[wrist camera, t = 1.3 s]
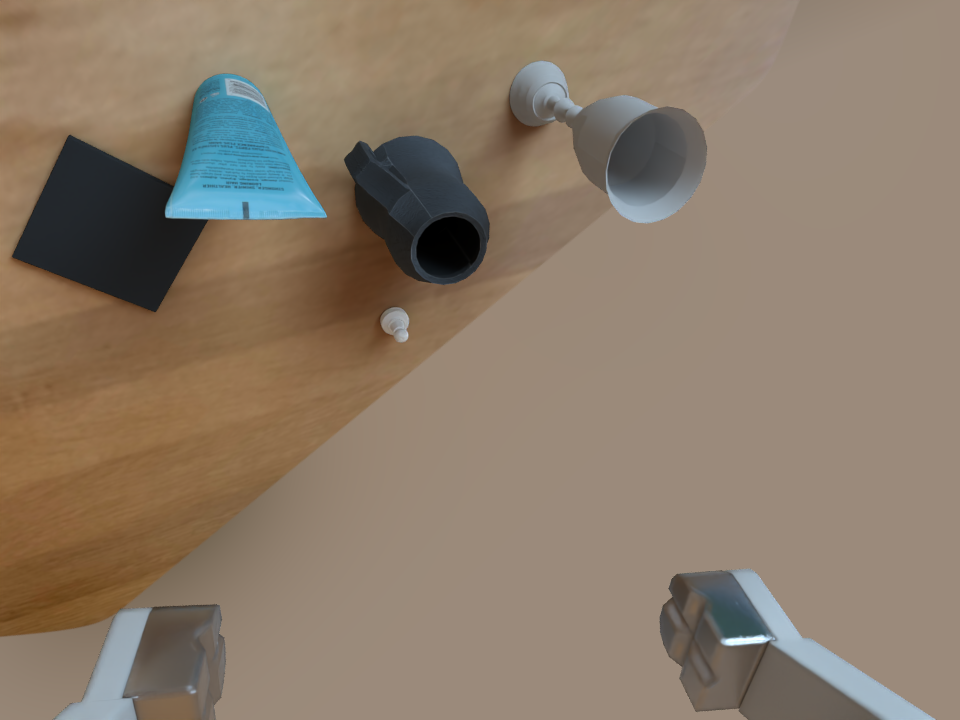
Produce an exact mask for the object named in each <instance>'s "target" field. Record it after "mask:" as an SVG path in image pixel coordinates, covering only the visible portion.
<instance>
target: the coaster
mask: <svg viewBox="0 0 960 720" xmlns="http://www.w3.org/2000/svg"><path fill="white" fill-rule="evenodd" d="M173 188H174V186H172V185H170V184H168V183H165V182H163V181H161V180H159V179H157V178H155V177H153V176H151V175H149V174H147V173H145V172H143V171H141V170H139V169H137V168H135V167H133V166H131V165H129V164H127V163H125V162H123V161H121V160H119V159H117V158H115V157H113V156H111V155H109V154H107V153H105V152H103V151H101V150H99V149H97V148H95V147H93V146H91V145H89V144H87V143H85V142H83V141H81V140H79V139H77V138H75V137H73V136H71V135H69V136H68V138H67V140H66V142H65V144H64V147H63V149H62V151H61V153H60V155H59V157H58V159H57V162H56V164H55V166H54V168H53V170H52V172H51V174H50V176H49V179H48V181H47V183H46V185H45V187H44V189H43V191H42V194H41V196H40V198H39V200H38V202H37V204H36V206H35V208H34V211H33V213H32V215H31V217H30V219H29V221H28V223H27V226H26V228H25V230H24V232H23V234H22V236H21V238H20V240H19V243H18V245H17V247H16V249H15V251H14V253H13V255H12V257H13V258H16V259H18V260H21V261H23V262H26V263H29V264H31V265H34V266H36V267H39V268H42V269H44V270H47V271H49V272H52V273H55V274H57V275H60V276H62V277H65V278H68V279H70V280H73V281H76V282H78V283H81V284H83V285H86V286H89V287H91V288H94V289H96V290H99V291H102V292H104V293H107V294H109V295H112V296H115V297H117V298H120V299H122V300H125V301H128V302H130V303H133V304H135V305H138V306H141V307H143V308H146V309H148V310H151V311H154V312H156V311H157V309H158V307H159V306H160V304H161V302H162V300H163V299H164V297H165V295H166V293H167V291H168V290H169V288H170V286H171V284H172V283H173V281H174V279H175V277H176V276H177V274H178V272H179V270H180V269H181V267H182V265H183V263H184V261H185V260H186V258H187V256H188V254H189V253H190V251H191V249H192V247H193V246H194V244H195V242H196V240H197V239H198V237H199V235H200V233H201V231H202V230H203V228H204V226H205V224H206V223H207V221H208V219H180V218H166V217H165V209H166V205H167V202H168V200H169V198H170V196H171V193H172V191H173Z"/></svg>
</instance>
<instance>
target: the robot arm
mask: <svg viewBox="0 0 960 720" xmlns="http://www.w3.org/2000/svg"><path fill="white" fill-rule="evenodd" d="M669 590H670V592H671V594H672V596H673V597H672V598H671V599H670V600H668V601H667V602H666V603H665V604H664V605H663V608H662V611H661V615H660V633H661V637H662V640H663V644H664V646H665V649H666V651H667V653H668V655H669V657H670V658H672V659H673V660H674V661H675V662H676V663H678V664H679V665H680V666H682V670H681V674H680V680H681V682H682V684H683V687H684V688H685V691H686V693H687V695H688V697H689V699H690V701H691V703H692V705H693V707H694V709H695V711H696V712H698V711H712V710H725V709H737V708H740V709H739V712H740V713H741V714H742V715H744V716H745V717H746V718H747V719H748V720H935V719H934V718H932V717H931V716H929V715H928V714H926V713H924V712H923V711H921V710H920V709H918V708H917V707H915V706H914V705H912V704H911V703H909V702H908V701H906V700H905V699H903V698H902V697H900V696H898V695H897V694H895V693H894V692H892V691H891V690H889V689H888V688H886V687H885V686H883V685H882V684H880V683H878V682H877V681H875V680H874V679H872V678H871V677H869V676H868V675H866V674H864V673H863V672H861V671H860V670H858V669H857V668H855V667H854V666H852V665H851V664H849V663H848V662H846V661H845V660H843V659H841V658H840V657H838V656H837V655H835V654H834V653H832V652H831V651H829V650H828V649H826V648H824V647H823V646H821V645H820V644H818V643H817V642H815V641H814V640H812V639H810V638H802V637H801V635H800V634H799V633H798V631H797V630H796V628H795V627H794V625H793V624H792V623H791V621H790V620H789V618H788V617H787V615H786V614H785V613H784V611H783V610H782V608H781V607H780V606H779V604H778V603H777V601H776V600H775V599H774V597H773V596H772V594H771V593H770V591H769V590H768V589H767V587H766V586H765V585H764V583H763V582H762V580H761V579H760V577H759V576H758V575H757V573H756V572H754V571H753V570H751V569H740V570H727V571H722V570H721V571H708V572H695V573H684V574H676V575H675V576H674V577H673V578H672V580H671V583H670V586H669ZM221 621H222V617H221V611H220V606H219V605H217V604H216V605H215V604H214V605H189V606H165V607H164V606H163V607H150V608H149V607H148V608H128V609H120V610H119V611H118V612H117V614H116V615H115V616H114V618H113V620H112V622H111V625H110V628H109V630H108V633H107V635H106V638H105V641H104V643H103V646H102V649H101V651H100V654H99V656H98V659H97V662H96V664H95V667H94V670H93V672H92V675H91V677H90V680H89V683H88V685H87V688H86V691H85V693H84V696H83V698H82V701H81V702H78V703H71V704H69V705H68V706H67V707H66V708H65V709H64V710H63V711H62V712H60V714H58V715H57V716H56V717H55V718H54V719H53V720H216V718H215V710H214V705H215V704H216V702H217V701H218V700H219V699H220V698H221V694H222V689H223V683H224V674H225V662H226V659H225V641H224V637H223V636H221V635H220V634H219V631H220V626H221Z"/></svg>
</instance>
